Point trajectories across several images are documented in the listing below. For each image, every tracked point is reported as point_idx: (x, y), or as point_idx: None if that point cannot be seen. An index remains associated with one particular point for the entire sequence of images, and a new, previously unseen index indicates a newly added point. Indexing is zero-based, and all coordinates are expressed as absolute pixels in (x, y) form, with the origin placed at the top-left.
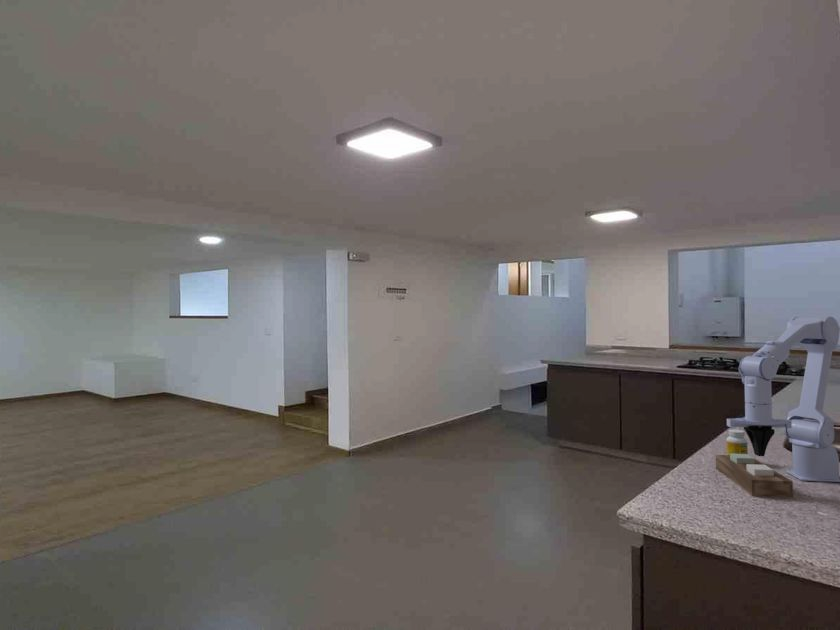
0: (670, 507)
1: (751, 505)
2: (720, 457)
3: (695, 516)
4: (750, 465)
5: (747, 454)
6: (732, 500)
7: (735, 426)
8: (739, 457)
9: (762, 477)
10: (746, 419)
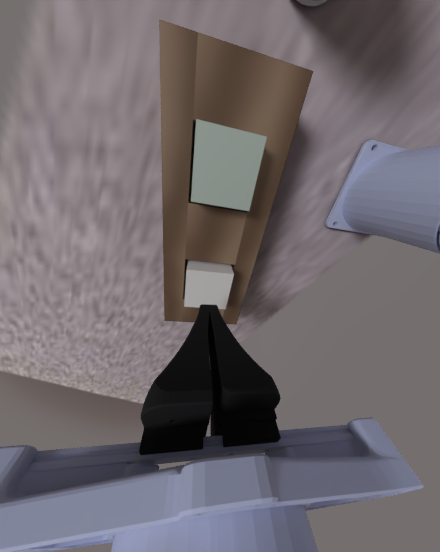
0: (24, 340)
1: (151, 329)
2: (164, 97)
3: (63, 359)
4: (191, 280)
5: (263, 146)
6: (130, 315)
7: (58, 460)
8: (204, 194)
9: (194, 309)
10: (117, 537)
